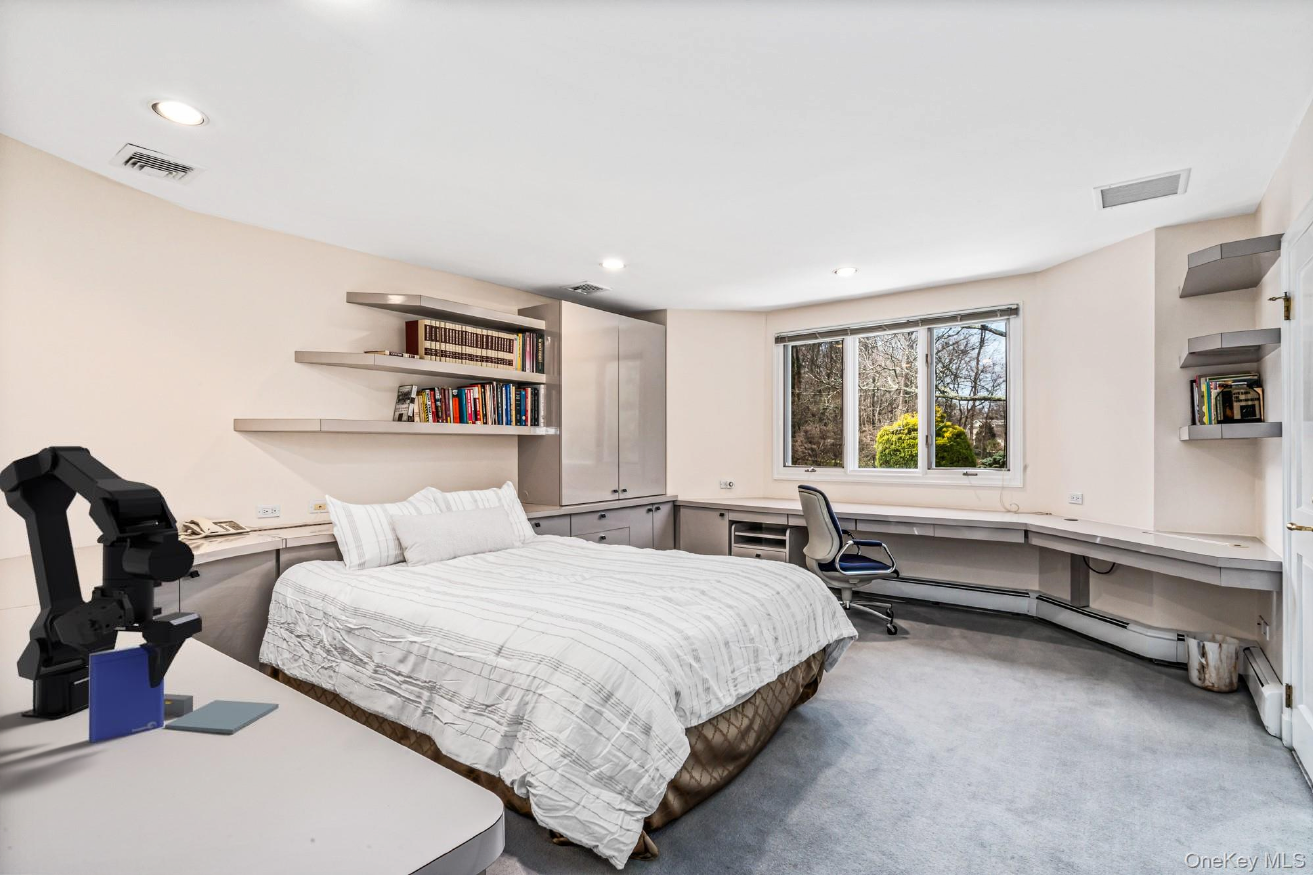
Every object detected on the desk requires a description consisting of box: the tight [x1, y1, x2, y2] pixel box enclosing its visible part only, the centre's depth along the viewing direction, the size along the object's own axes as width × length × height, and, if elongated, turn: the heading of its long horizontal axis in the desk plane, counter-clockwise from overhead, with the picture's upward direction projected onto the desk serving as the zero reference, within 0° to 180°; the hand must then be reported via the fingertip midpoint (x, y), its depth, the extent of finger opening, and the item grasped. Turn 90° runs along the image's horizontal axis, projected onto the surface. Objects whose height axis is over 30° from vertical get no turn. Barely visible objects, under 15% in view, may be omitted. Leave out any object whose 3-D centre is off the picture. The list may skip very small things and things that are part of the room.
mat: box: [164, 699, 279, 735], centre depth 96 cm, size 11×9×1 cm
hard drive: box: [88, 644, 165, 743], centre depth 90 cm, size 2×8×12 cm, turn 136°
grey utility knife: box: [164, 693, 194, 717], centre depth 98 cm, size 12×2×2 cm, turn 82°
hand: (128, 685), depth 90 cm, fingers open, 8 cm apart
